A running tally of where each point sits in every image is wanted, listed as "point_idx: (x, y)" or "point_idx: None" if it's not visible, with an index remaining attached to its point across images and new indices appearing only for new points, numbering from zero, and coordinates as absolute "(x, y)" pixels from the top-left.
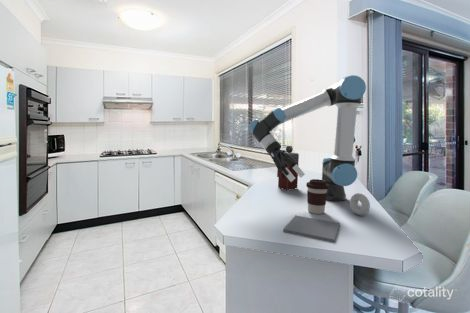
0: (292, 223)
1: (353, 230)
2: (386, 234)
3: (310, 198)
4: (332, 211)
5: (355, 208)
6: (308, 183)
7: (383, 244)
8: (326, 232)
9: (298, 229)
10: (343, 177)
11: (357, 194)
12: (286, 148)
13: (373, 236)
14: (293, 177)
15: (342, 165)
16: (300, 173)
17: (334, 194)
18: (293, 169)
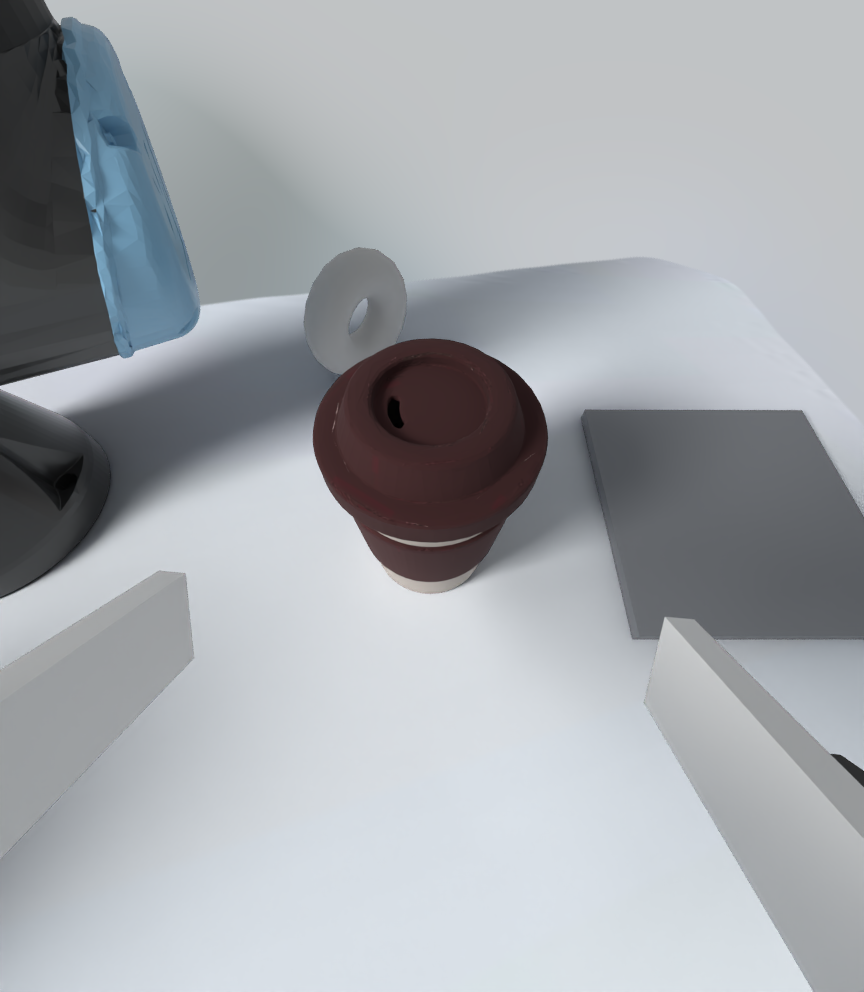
0: (800, 611)
1: (601, 373)
2: (558, 296)
3: (499, 531)
4: None
5: (365, 350)
6: (471, 500)
7: (661, 305)
8: (756, 442)
9: (849, 557)
10: (177, 235)
11: (352, 271)
12: None
13: (611, 324)
14: (708, 649)
15: (112, 74)
16: (148, 652)
17: (66, 455)
18: None
